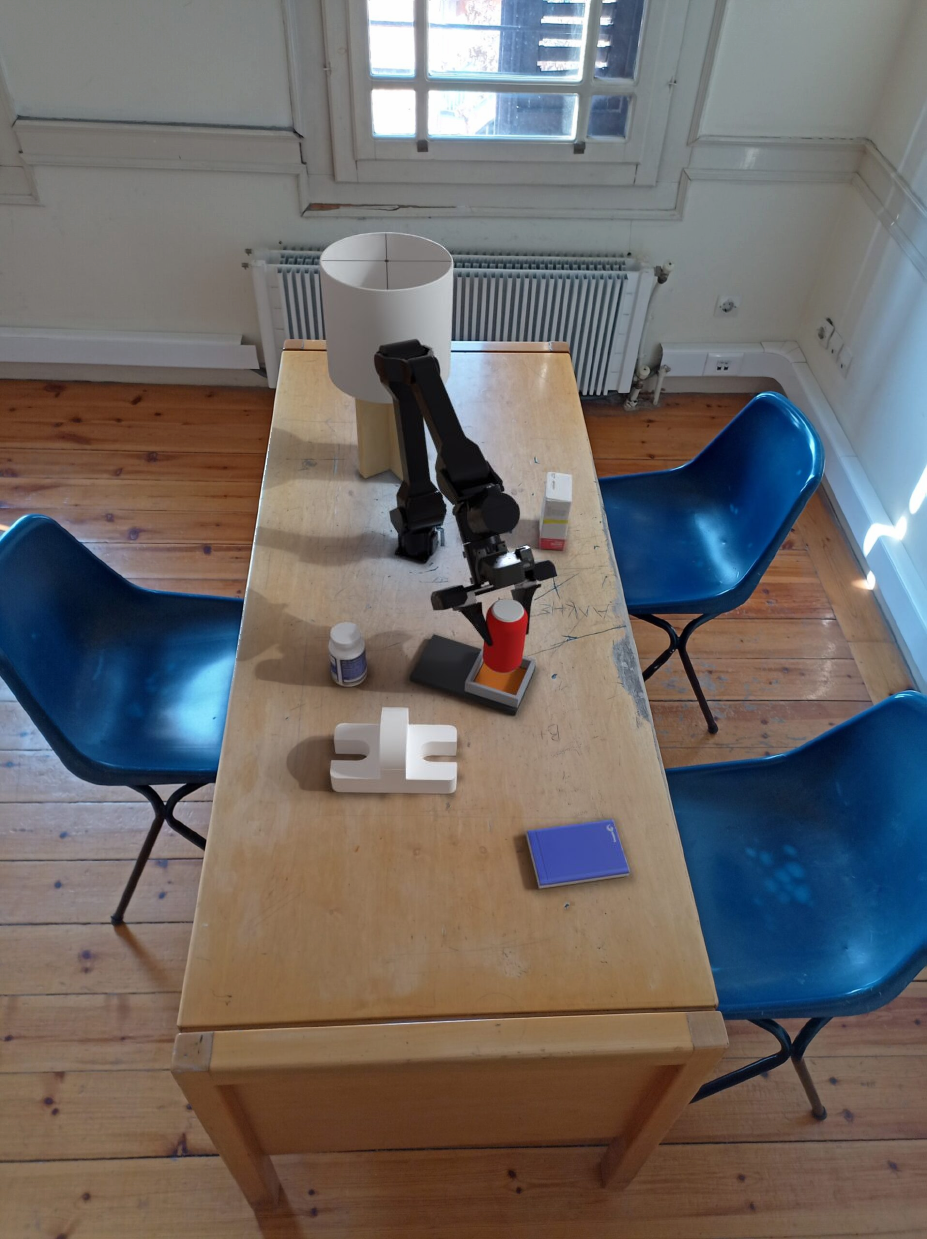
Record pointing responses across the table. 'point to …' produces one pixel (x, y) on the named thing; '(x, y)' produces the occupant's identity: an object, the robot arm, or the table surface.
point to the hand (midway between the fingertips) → (508, 640)
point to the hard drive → (577, 853)
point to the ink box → (555, 511)
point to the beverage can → (505, 635)
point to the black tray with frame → (471, 675)
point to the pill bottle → (347, 654)
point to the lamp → (382, 325)
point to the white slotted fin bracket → (394, 756)
